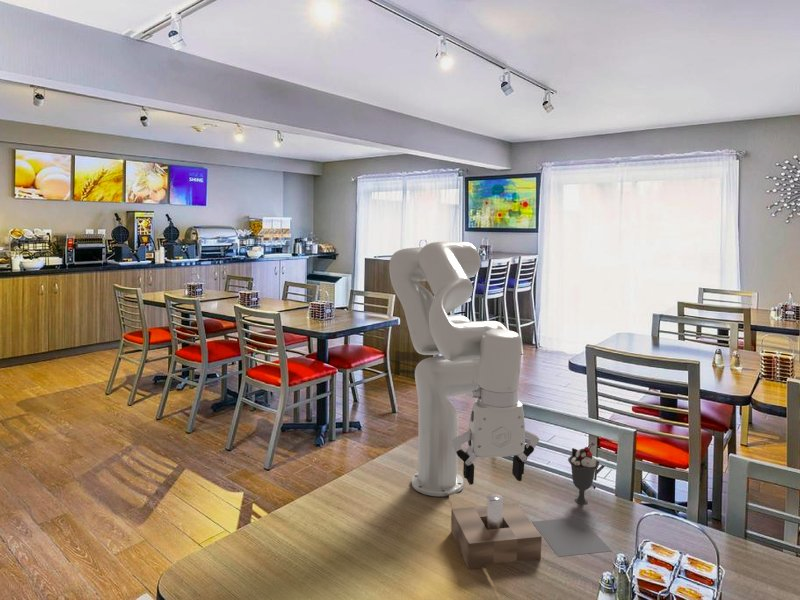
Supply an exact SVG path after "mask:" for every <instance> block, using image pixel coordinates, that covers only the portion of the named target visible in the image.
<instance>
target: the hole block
mask: <svg viewBox="0 0 800 600" xmlns="http://www.w3.org/2000/svg"><path fill="white" fill-rule="evenodd" d="M450 512H451V515H450V517H451V522H450V526H451V527H450V532H451V534H452V537H453V539H454V542H455V543H456V545H457V547H458V550H459V552H460V554H461V556H462V559H463V561H464V562H465V564H466V568H467V569H468V570H473V569H481V568H483V569H484V568H486V566H487V565H494V564H503V563H512V562H521V561H522V562H523V561H532V560H541V558H542V539H543V536H542V535H541V533H540V532H539V531H538V529H537V528H536V527H535V525H534V524H533V523H532V521H531V520H530V519H529V518H528V516H527V515H526V513H525V512H524V511H523V510H522V508H521V507H520V505H519V504H518V503H506V504H504V503H503V525H502V528H500V529H489V530H487V505H484V506H483V505H482V506H471V507H458V508H451V511H450Z"/></svg>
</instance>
